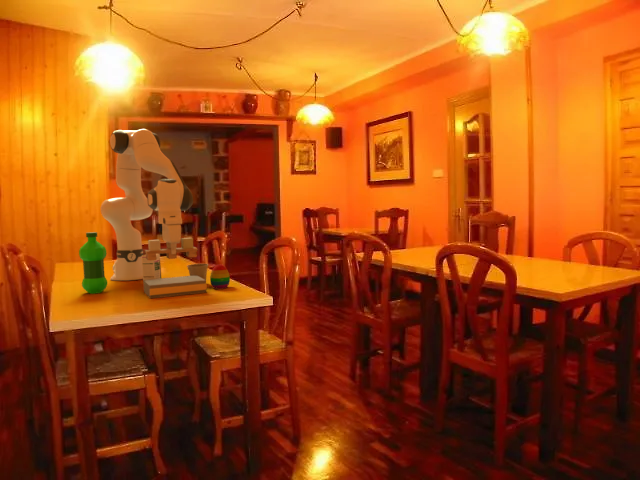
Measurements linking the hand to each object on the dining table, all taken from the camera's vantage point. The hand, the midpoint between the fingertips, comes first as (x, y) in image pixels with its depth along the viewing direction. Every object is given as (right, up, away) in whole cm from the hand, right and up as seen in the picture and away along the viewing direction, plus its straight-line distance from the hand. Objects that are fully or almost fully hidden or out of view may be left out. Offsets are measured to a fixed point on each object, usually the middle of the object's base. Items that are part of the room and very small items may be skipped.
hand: (171, 253), depth 219 cm
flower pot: (+6, -15, +20) cm, 25 cm away
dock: (+1, -16, +2) cm, 16 cm away
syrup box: (-12, -15, +15) cm, 25 cm away
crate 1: (-6, +1, -3) cm, 7 cm away
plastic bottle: (-34, -17, +6) cm, 38 cm away
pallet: (0, -2, 0) cm, 2 cm away
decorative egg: (+18, -15, +10) cm, 25 cm away
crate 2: (+6, +2, +3) cm, 7 cm away
